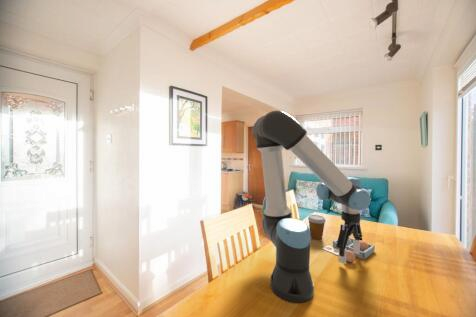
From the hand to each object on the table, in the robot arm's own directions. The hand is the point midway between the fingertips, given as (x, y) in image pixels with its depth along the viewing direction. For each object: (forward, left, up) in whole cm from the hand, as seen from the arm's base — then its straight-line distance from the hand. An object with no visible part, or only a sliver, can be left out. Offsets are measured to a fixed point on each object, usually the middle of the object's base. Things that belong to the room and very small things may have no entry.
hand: (349, 257), depth 91 cm
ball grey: (+14, +8, -2) cm, 16 cm away
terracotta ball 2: (+16, +1, -2) cm, 16 cm away
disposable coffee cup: (+11, +23, -2) cm, 26 cm away
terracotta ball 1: (0, 0, -2) cm, 2 cm away
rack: (+14, +4, -2) cm, 14 cm away
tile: (+4, +10, -2) cm, 11 cm away
